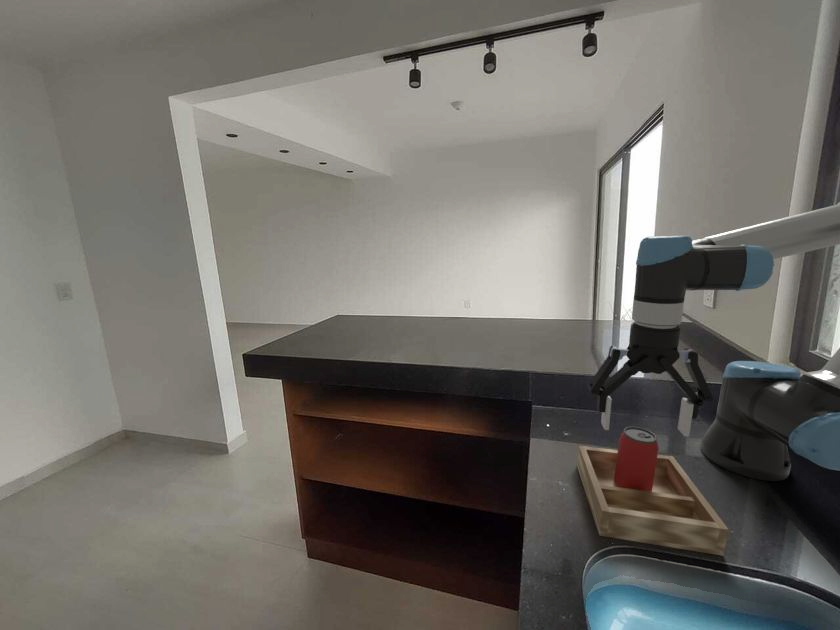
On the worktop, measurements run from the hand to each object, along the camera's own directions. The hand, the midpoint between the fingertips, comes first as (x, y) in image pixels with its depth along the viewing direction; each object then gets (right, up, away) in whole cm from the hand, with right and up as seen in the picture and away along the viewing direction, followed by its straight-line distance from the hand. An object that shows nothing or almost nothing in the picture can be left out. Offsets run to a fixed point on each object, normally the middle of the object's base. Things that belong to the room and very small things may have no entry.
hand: (643, 429), depth 68 cm
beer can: (0, -13, +3) cm, 13 cm away
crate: (-1, -14, 0) cm, 14 cm away
